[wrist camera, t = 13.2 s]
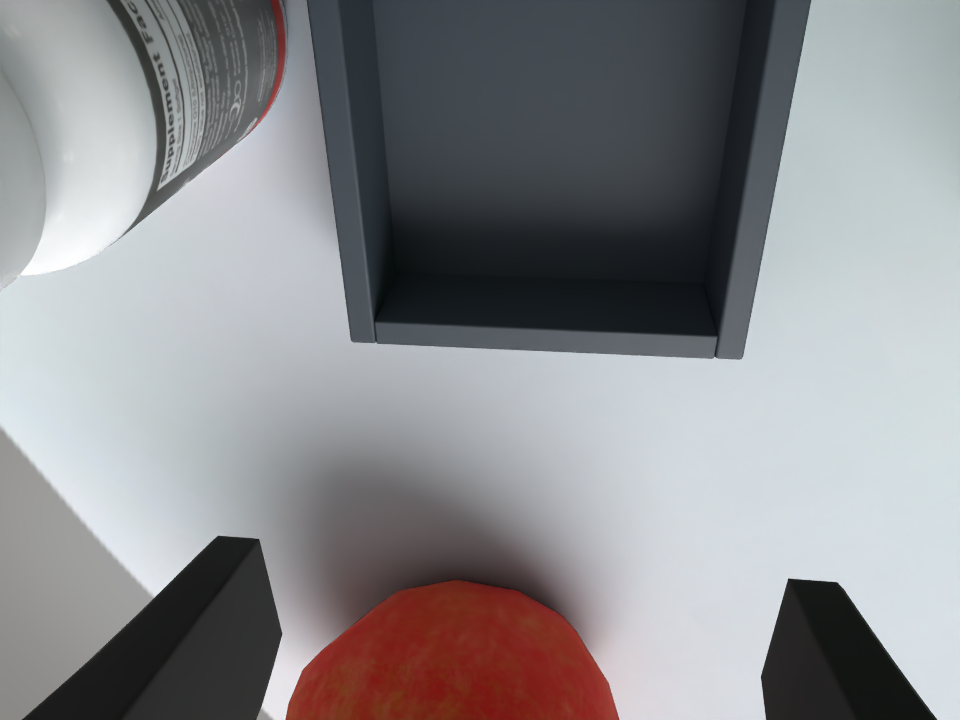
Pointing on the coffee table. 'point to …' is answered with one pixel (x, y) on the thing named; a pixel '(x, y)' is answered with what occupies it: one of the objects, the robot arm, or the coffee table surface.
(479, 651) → the apple
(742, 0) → the dark grey shallow tray
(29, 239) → the pill bottle
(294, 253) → the coffee table surface
